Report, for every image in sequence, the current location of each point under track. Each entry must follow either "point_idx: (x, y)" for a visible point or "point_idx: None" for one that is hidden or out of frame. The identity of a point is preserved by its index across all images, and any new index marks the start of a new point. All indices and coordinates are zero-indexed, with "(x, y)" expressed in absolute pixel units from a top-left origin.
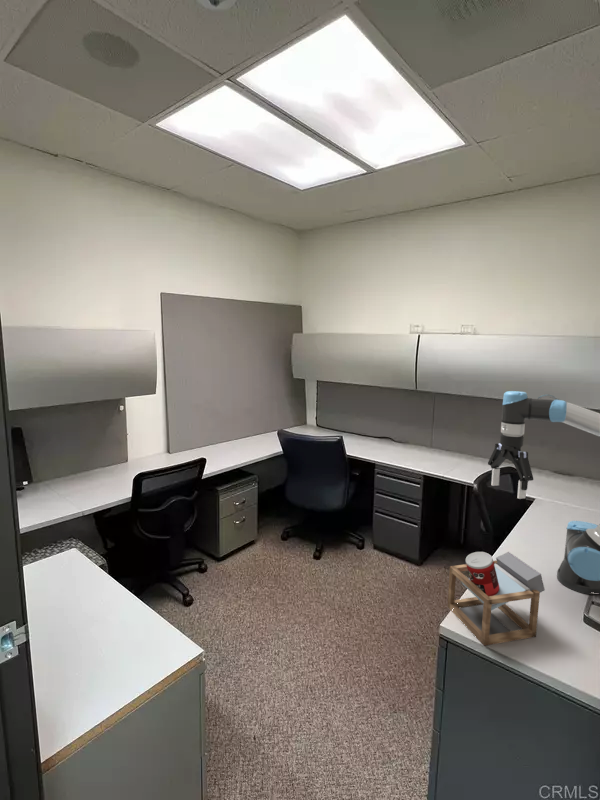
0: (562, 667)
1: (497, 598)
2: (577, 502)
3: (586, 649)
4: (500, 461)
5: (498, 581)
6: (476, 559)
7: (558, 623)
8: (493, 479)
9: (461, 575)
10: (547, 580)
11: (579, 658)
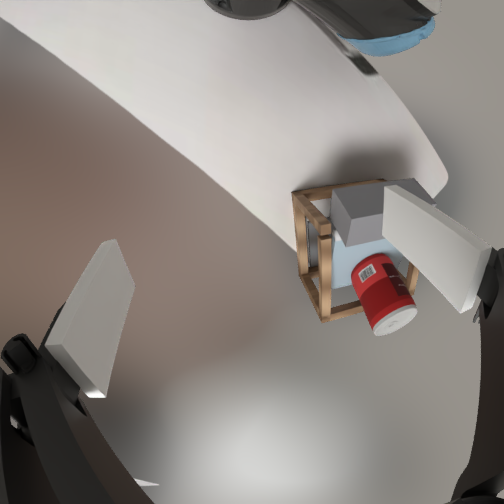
0: (425, 183)
1: (416, 280)
2: None
3: (411, 126)
4: (127, 486)
5: (372, 248)
6: (391, 323)
7: (364, 119)
8: (122, 315)
9: (353, 312)
10: (230, 39)
11: (420, 150)
